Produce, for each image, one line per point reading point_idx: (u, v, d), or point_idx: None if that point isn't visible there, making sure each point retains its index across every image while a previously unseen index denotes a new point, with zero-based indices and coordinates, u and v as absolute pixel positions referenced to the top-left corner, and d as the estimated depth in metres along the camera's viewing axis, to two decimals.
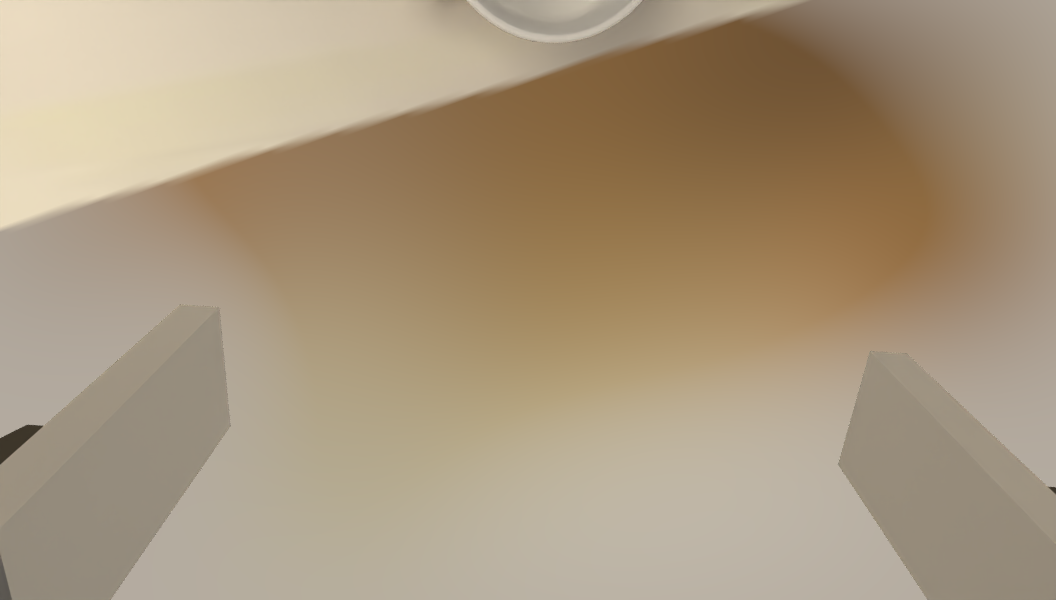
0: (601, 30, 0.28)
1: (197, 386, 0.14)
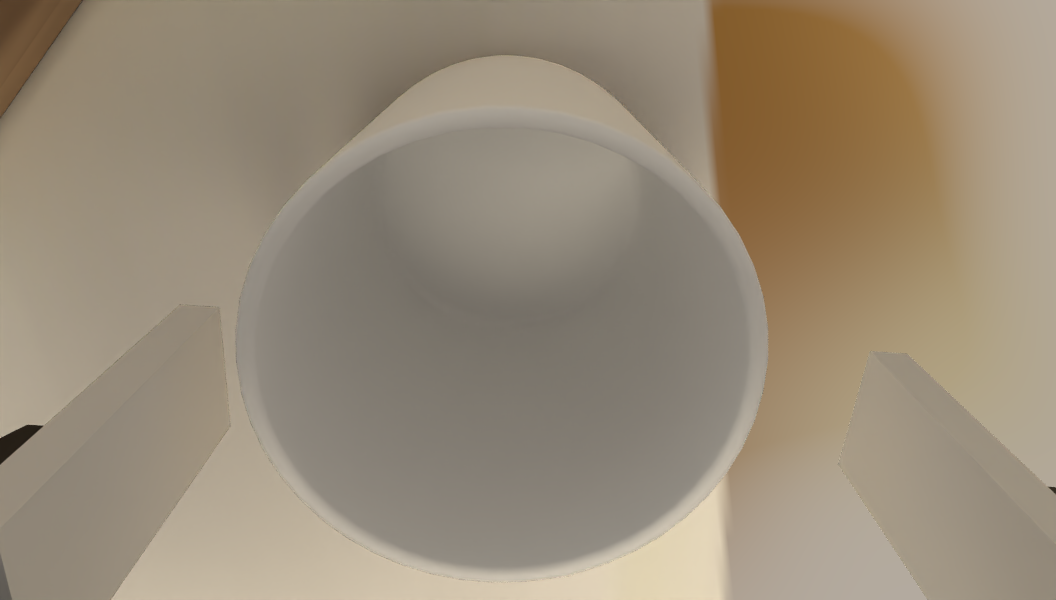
0: (762, 307, 0.11)
1: (197, 386, 0.14)
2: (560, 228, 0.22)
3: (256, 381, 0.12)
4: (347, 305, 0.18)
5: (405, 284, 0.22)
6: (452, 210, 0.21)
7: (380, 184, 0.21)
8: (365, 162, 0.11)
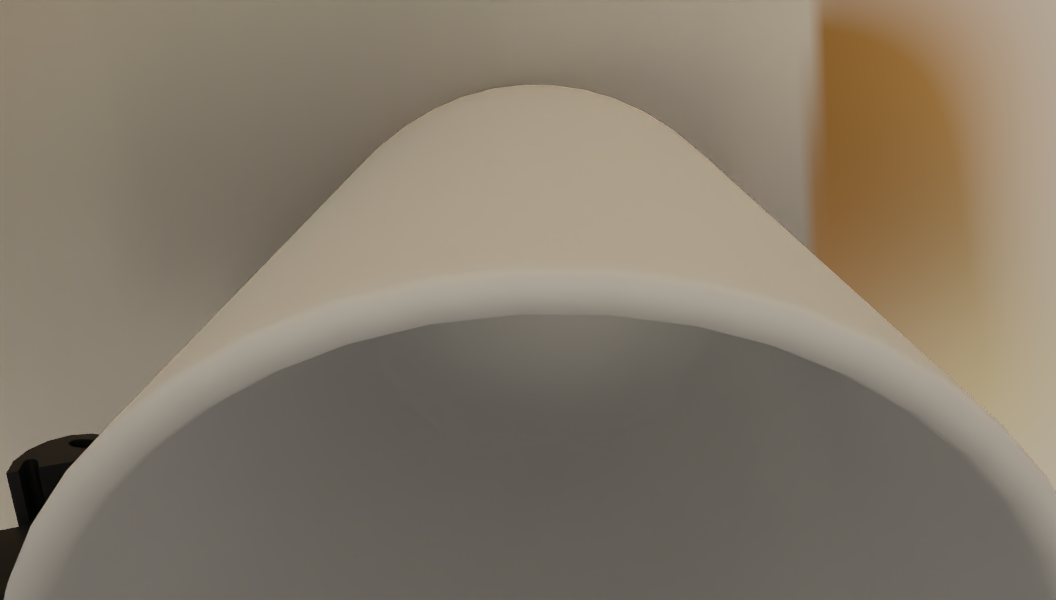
0: None
1: None
2: (606, 320, 0.16)
3: None
4: (295, 467, 0.12)
5: (393, 393, 0.16)
6: None
7: None
8: (242, 387, 0.05)
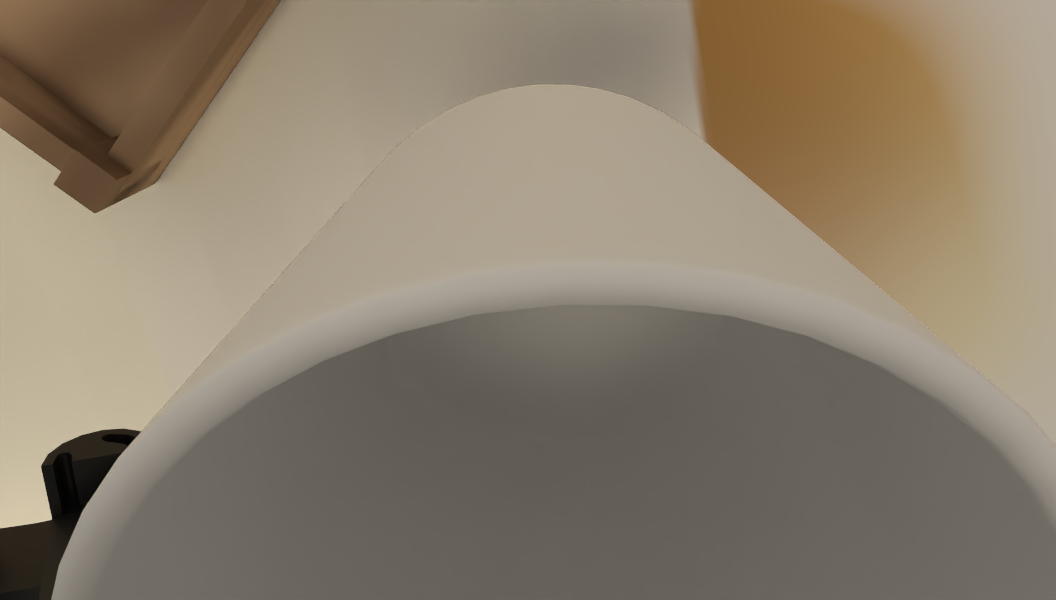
0: None
1: None
2: (620, 317, 0.16)
3: None
4: (317, 462, 0.12)
5: (409, 390, 0.16)
6: None
7: None
8: (290, 376, 0.05)
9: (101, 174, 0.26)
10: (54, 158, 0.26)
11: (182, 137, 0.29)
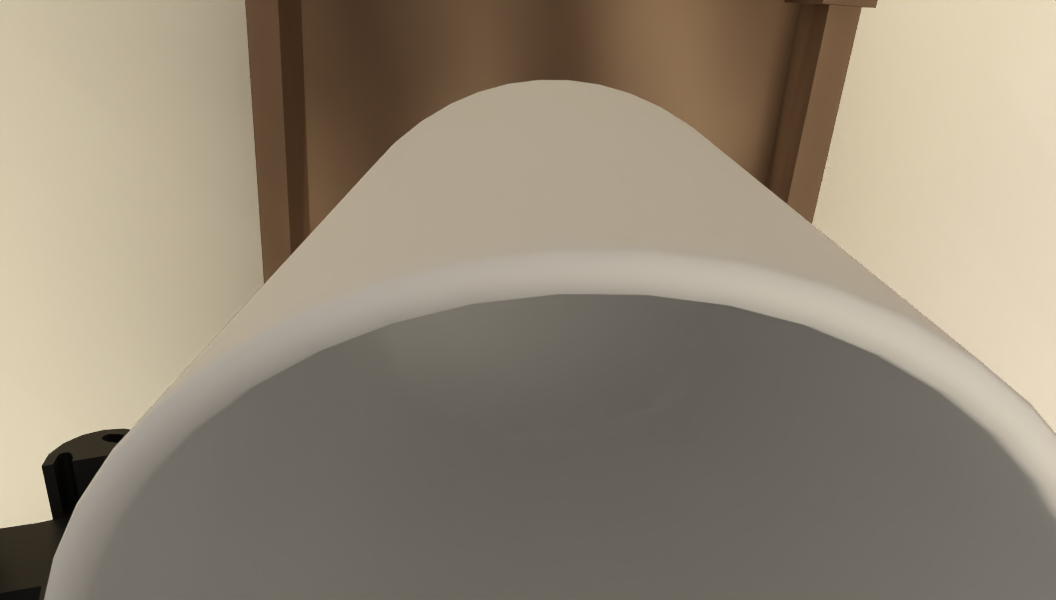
0: None
1: None
2: (620, 314, 0.16)
3: None
4: (315, 458, 0.12)
5: (408, 387, 0.16)
6: None
7: None
8: (287, 366, 0.05)
9: None
10: None
11: None
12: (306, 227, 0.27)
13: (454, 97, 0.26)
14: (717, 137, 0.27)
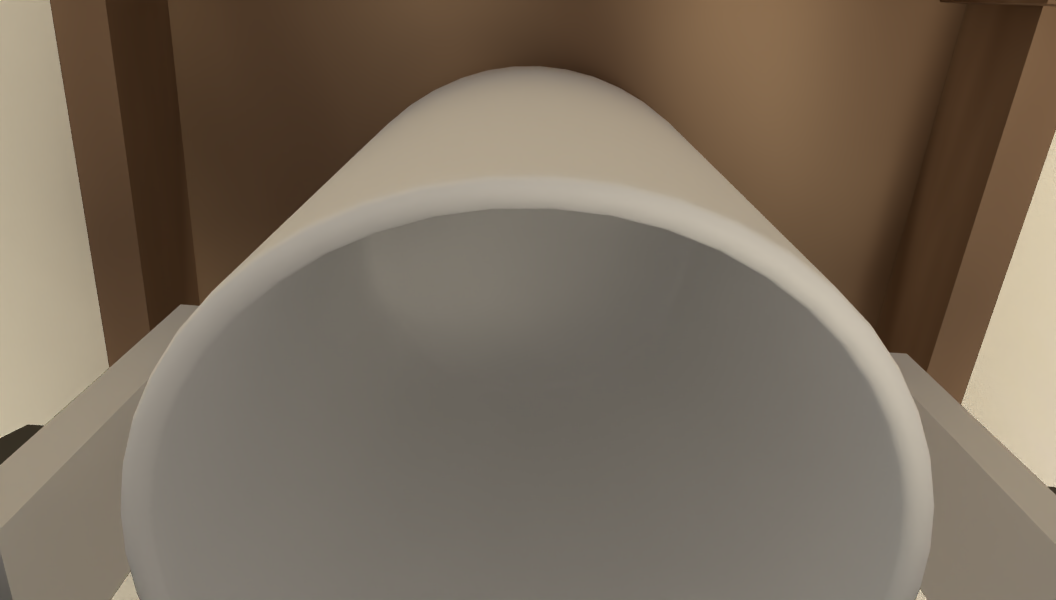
0: (929, 474, 0.07)
1: None
2: (593, 276, 0.18)
3: (159, 573, 0.08)
4: (324, 394, 0.14)
5: (405, 344, 0.18)
6: (461, 256, 0.17)
7: None
8: (301, 265, 0.07)
9: None
10: None
11: None
12: None
13: None
14: (821, 209, 0.17)
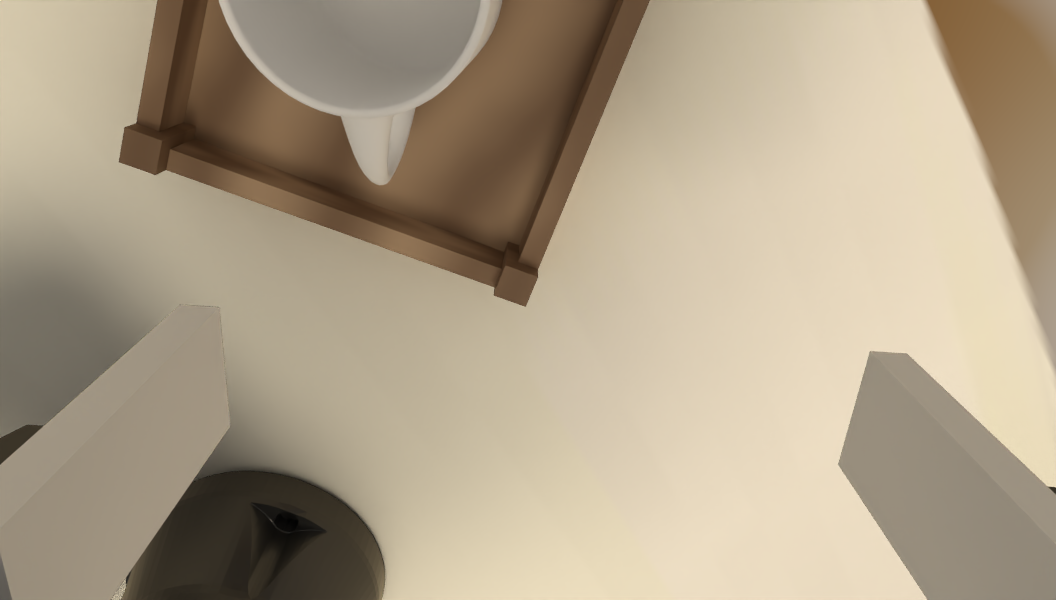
0: None
1: (197, 386, 0.14)
2: (437, 6, 0.32)
3: None
4: None
5: (326, 15, 0.32)
6: None
7: None
8: None
9: (526, 276, 0.34)
10: (481, 277, 0.35)
11: None
12: None
13: None
14: (563, 8, 0.33)
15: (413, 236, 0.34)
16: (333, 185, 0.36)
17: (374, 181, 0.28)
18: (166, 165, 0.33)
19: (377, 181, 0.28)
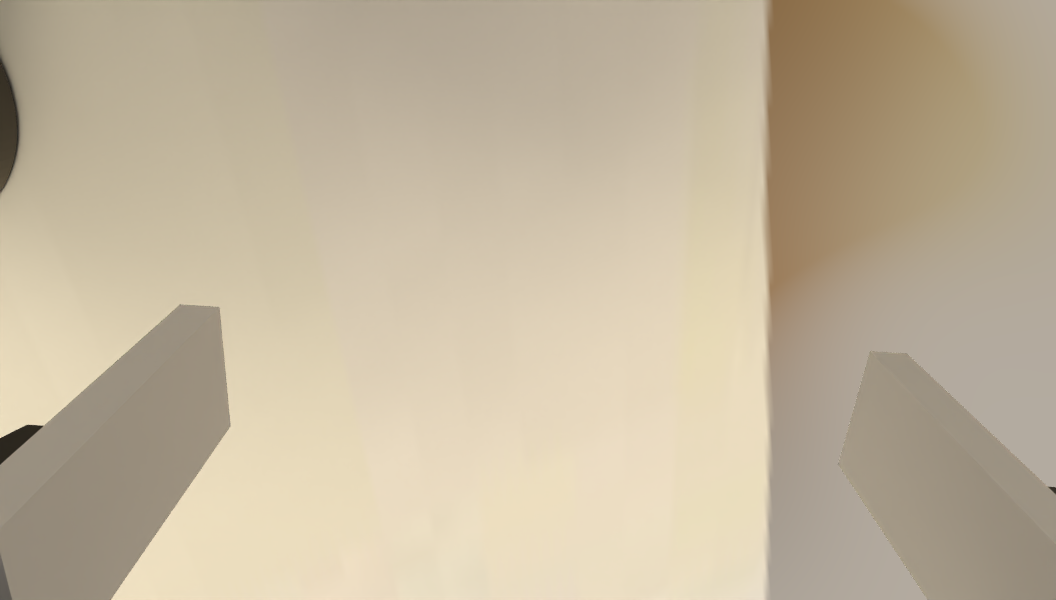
0: None
1: (197, 386, 0.14)
2: None
3: None
4: None
5: None
6: None
7: None
8: None
9: None
10: None
11: None
12: None
13: None
14: None
15: None
16: None
17: None
18: None
19: None
